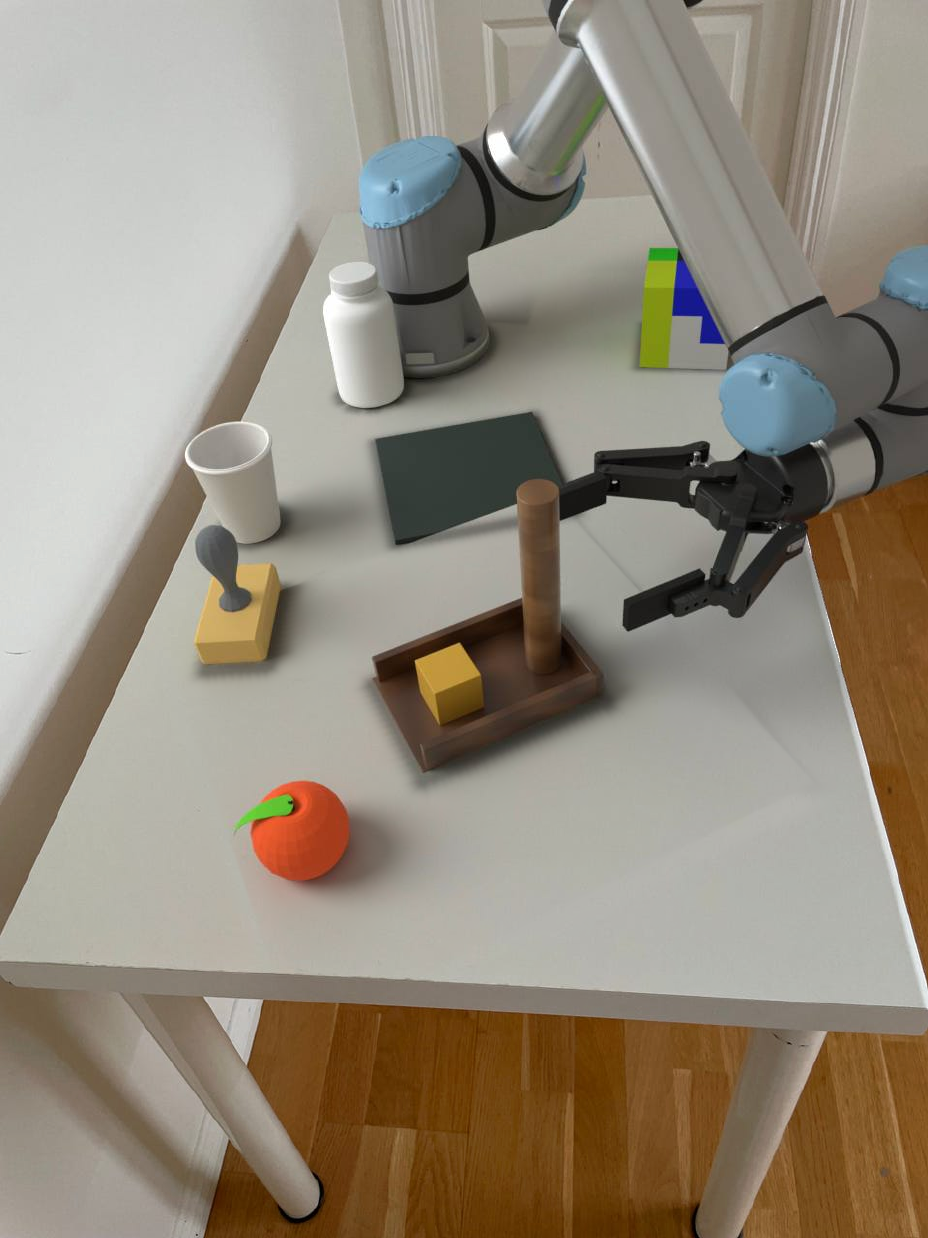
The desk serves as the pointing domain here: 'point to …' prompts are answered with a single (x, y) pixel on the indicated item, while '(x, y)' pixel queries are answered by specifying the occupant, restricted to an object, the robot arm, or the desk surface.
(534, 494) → the wooden peg tray
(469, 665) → the block
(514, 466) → the mat
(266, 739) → the desk surface
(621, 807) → the desk surface
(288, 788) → the clementine
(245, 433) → the dixie cup
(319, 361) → the desk surface
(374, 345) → the pill bottle
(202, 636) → the rubber stamp
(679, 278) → the puzzle toy
